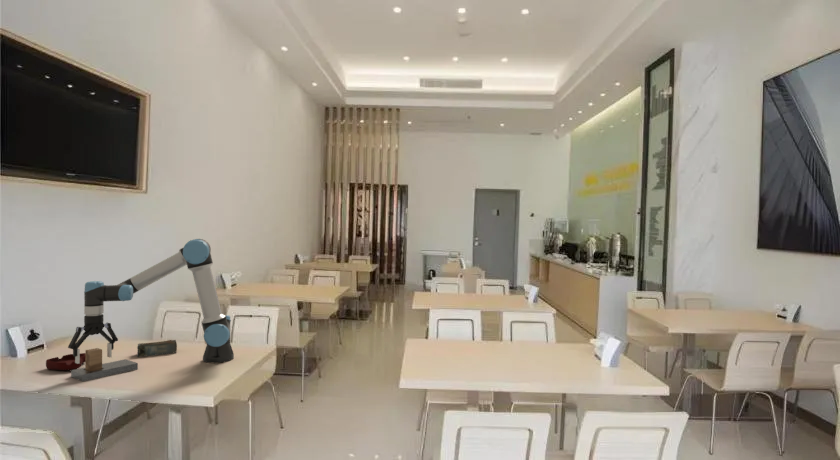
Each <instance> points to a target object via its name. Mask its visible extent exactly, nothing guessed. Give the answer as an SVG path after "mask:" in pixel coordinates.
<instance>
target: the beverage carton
mask: <svg viewBox="0 0 840 460" xmlns="http://www.w3.org/2000/svg"><path fill="white" fill-rule="evenodd" d="M136 348H137V354H136V355H137V357H138V358H140V357H142V358H143V357H149V356H150V357H151V356H153V357H154V356H160V355H162V356H163V355H169V354H177V351H178V349H177V348H178V343H177V341H176V339H167V340H163V341H152V342H145V343H144V342H142V343H137V347H136Z"/></svg>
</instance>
